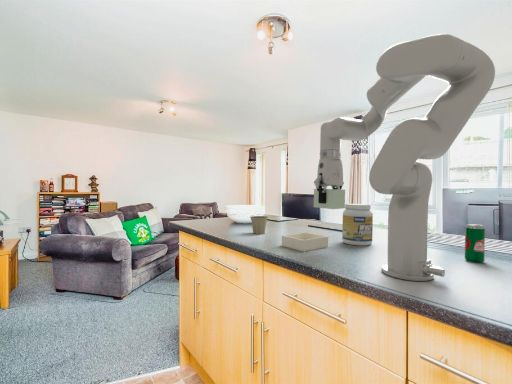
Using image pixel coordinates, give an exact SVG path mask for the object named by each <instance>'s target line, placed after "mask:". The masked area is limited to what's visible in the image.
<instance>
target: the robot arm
mask: <svg viewBox="0 0 512 384" xmlns="http://www.w3.org/2000/svg"><path fill="white" fill-rule="evenodd" d="M375 71H376V73H377V76H379V78H378V79H377V80H376V81H375V83H373V84H372V85H371V86H370V87H369V89H367V91H366V98H367V101H368V103H369V104H370V105H371V108H370V110H369V111H368V112H367V113H366V114H365V115H364V116H362V117H361V118H360V119H356V118H352V117H343V116H340V117H337V118H334V119H333V120H331V121H327V122H324V123H322V124H321V126H320V135H319V136H320V137H319V138H320V140H319V142H320V143H319V161H318V166H317V175H316V176H317V177H316V178H315V180H314V181H313V184H314V186H315V189H317V192H319V198H318V203H323V204H326V193H325V191H326V189H328V187H329V186H330V187H331V189H342V190H343V186H344V184H345V182H344V170H343V161H342V159H341V154H342V145H341V144H342V140H343V141H351V142H360V141H363V140H365V139H367V138H369V136H371V135H372V134H374V132H376V131H377V130H378V129H379V128H380V127H381V126H382V124H383V122H384V121H385V118H386V116H387V112H388V110H389V109H390V108H391V107H392V106H393V105H394V104H395V103H397V102H398V101H399V100H400V99H402V97H404V96H405V95H406V94H407V93H408V92H410V91H411V90H412V89H413V88H414V87H416V86H417V85H418V84H419V83H420V82H421V81H422V80H423V79H424V78H425V77H430V78H433V79H437V80H440V81H443V82H445V83H447V84H448V87H447V88H446V89H445V90H444V91H443V92H442V93H440V94H439V95H438V97H436V99H435V100H434V102H433V103H432V105H431V107H430V109H429V110H428V111H427V112H426V114H425V116H424V117H423V118H419V117H412V118H408V119H404V120H402V121H401V122H399V123H398V124H397V125H396V126H395V127H394V128H393V129H392V130H391V132H390V133H389V134H388V135H387V136H388V137H387V138H386V139H385V141H384V143H383V145H382V147H381V149H380V150H379V153H378V154H377V156H376V158H375V160H374V162H373V164H372V165H371V168H370V171H369V176H368V179H369V180H368V181H369V185H370V187H371V188H372V189H373V190H374V191H375V192H377V193H379V194H381V195H391V198H390V202H389V203H388V212H387V213H388V214H387V215H388V217H387V220H388V221H387V263H386V264H382V265H381V272H382V273H384V274H385V275H387V276H389V277H392V278H395V279H400V280H405V281H413V282H427V281H428V282H429V281H431V280H433V279H434V278H435V276H439V277H442V278H444V277H445V275H446V270H445V269H444V267H442V266H437V265H433V264H432V259H430V258H429V259H428V226H429V223H428V219H429V202H430V195H431V190H432V186H433V174H432V172H431V169H430V168H429V167H428V166H427V165H426V164H425V163H423V162H422V161H419V160H436V159H440V158H441V157H443V156H445V154H446V153H447V152H448V151H449V150H450V148H451V147H452V146H453V143H454V142H455V141H456V139H457V138H458V136H459V134H461V132H462V130H463V129H464V127H465V126H466V124H467V123H468V122H469V119H470V118H471V117H472V115H473V114H474V112H475V111H476V110H477V109H478V107H479V105H480V104H481V103H482V102H483V100H484V99H485V98H486V96H487V94H488V93H489V91H490V90H491V88H492V85H493V84H494V81H495V76H496V67H495V65H494V62H493V60H492V59H491V57H490V56H489V54H487V53H486V52H485V51H484V50H482V49H480V48H479V47H478V46H476V45H474V44H472V43H471V42H467V41H466V40H463V39H461V38H459V37H457V36H454V35H452V34H449V33H439V34H438V33H437V34H432V35H427V36H423V37H419V38H415V39H410V40H406V41H403V42H399V43H395V44H394V45H391V46H390V47H388V48H387V49H386V50H385V51H383V52H382V54H381V55H380V56H379V58H378V60H377V62H376V65H375ZM418 159H419V160H418Z"/></svg>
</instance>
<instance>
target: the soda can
mask: <svg viewBox="0 0 512 384" xmlns="http://www.w3.org/2000/svg"><path fill="white" fill-rule="evenodd" d="M485 253H486V228H485V227H484V225H483V224H476V223H466V226H465V228H464V259H465V261H467V262H470V263H476V264H483V263H484V262H485V261H486V260H485V259H486V258H485V255H486V254H485Z"/></svg>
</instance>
